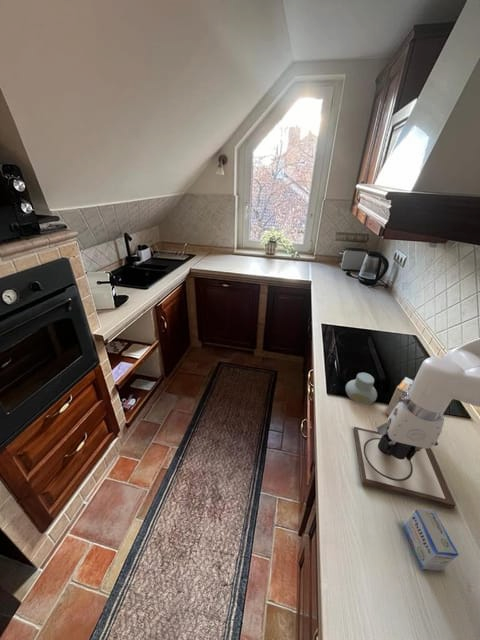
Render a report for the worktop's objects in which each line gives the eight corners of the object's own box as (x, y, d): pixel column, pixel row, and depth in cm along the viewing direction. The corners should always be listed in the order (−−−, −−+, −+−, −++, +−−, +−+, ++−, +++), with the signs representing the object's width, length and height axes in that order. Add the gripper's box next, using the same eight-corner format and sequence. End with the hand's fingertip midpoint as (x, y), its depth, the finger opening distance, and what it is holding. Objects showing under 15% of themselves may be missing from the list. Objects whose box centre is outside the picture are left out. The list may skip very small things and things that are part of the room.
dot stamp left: (390, 444, 78) (395, 433, 76) (393, 456, 75) (399, 445, 72) (376, 441, 79) (381, 430, 77) (379, 452, 76) (384, 442, 73)
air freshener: (374, 394, 98) (382, 375, 94) (374, 410, 92) (382, 389, 87) (345, 385, 102) (350, 366, 98) (342, 399, 96) (349, 379, 91)
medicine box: (401, 526, 61) (414, 507, 57) (420, 526, 61) (434, 508, 57) (421, 570, 54) (437, 553, 50) (442, 571, 54) (460, 554, 50)
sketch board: (427, 445, 80) (429, 442, 79) (453, 508, 65) (456, 505, 64) (353, 429, 84) (354, 426, 84) (361, 484, 69) (363, 481, 68)
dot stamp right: (403, 447, 70) (409, 436, 67) (407, 461, 66) (414, 449, 64) (387, 444, 71) (393, 432, 68) (390, 457, 67) (397, 445, 65)
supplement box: (398, 422, 87) (412, 395, 81) (384, 413, 90) (396, 386, 84) (407, 410, 92) (420, 383, 86) (393, 402, 95) (405, 376, 89)
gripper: (388, 409, 58) (366, 457, 67) (472, 427, 55) (437, 475, 64) (381, 387, 64) (362, 433, 73) (456, 401, 61) (426, 448, 70)
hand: (397, 452), depth 68 cm, fingers closed on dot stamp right, 4 cm apart
